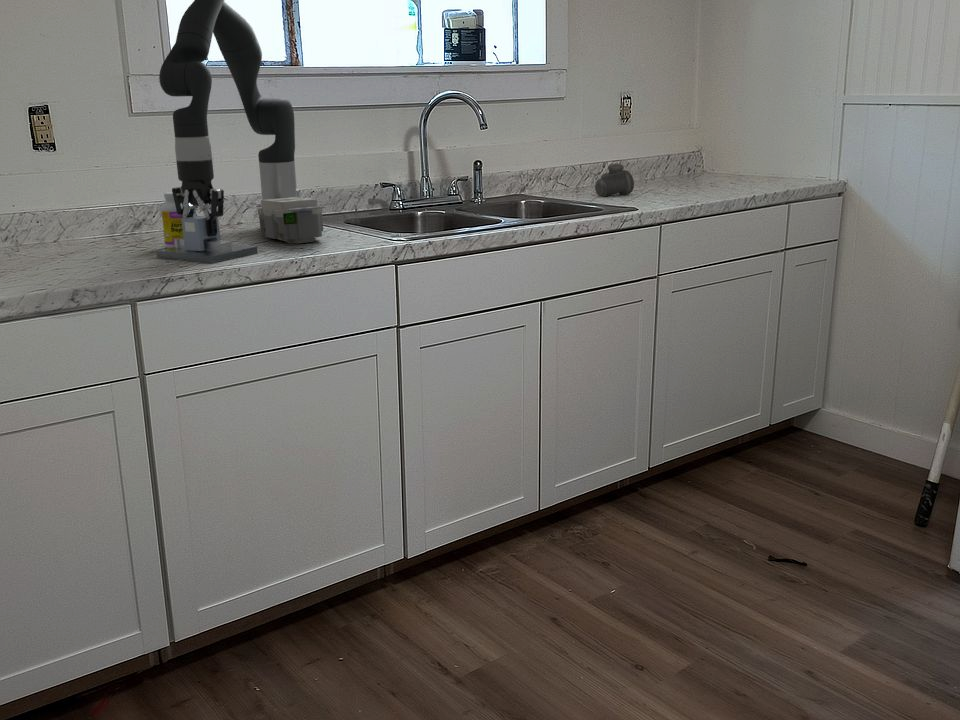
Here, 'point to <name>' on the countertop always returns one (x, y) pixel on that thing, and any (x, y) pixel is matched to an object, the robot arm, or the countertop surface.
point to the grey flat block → (207, 251)
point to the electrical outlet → (291, 219)
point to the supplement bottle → (171, 221)
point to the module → (196, 232)
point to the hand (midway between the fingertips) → (202, 235)
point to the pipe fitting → (615, 182)
